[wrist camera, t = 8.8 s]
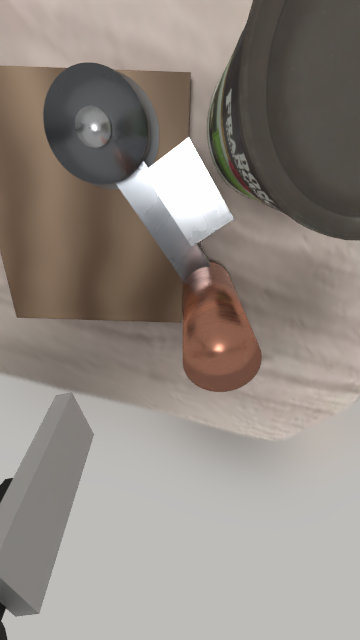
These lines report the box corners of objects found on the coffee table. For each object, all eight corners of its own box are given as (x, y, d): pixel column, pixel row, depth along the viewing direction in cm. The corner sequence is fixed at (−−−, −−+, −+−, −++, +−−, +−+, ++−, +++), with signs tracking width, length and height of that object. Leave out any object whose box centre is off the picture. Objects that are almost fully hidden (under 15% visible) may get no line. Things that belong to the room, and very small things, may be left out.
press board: (24, 310, 29) (15, 318, 27) (-31, 70, 20) (-49, 63, 19) (181, 315, 29) (181, 323, 27) (190, 78, 20) (190, 71, 19)
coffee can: (256, 228, 25) (330, 292, 12) (178, 113, 21) (171, 37, 9) (376, 137, 22) (635, 100, 9) (308, -16, 18) (585, -415, 6)
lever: (42, 118, 20) (-95, 72, 10) (128, 38, 18) (63, -114, 8) (189, 320, 27) (193, 410, 17) (262, 277, 25) (315, 351, 15)
